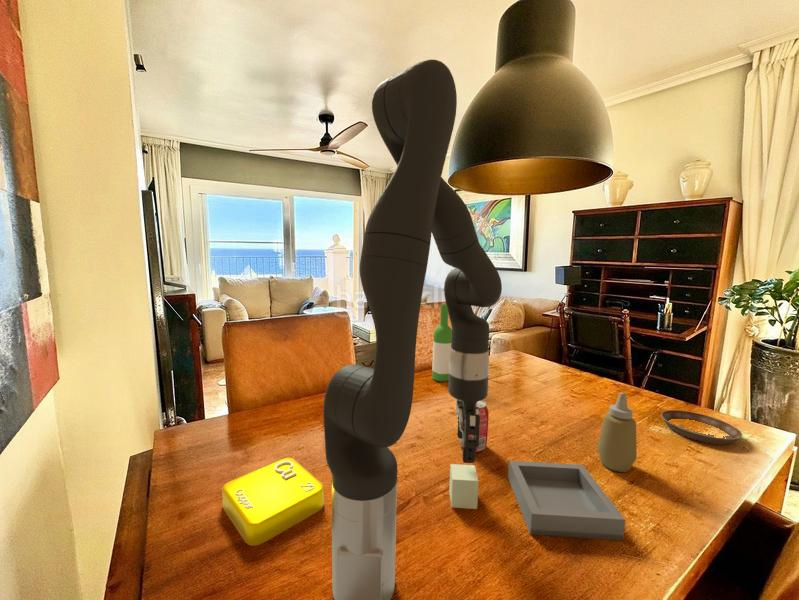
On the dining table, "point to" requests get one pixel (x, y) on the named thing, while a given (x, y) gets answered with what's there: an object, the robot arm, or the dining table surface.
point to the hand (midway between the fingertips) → (465, 449)
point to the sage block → (463, 486)
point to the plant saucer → (678, 414)
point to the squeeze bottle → (618, 437)
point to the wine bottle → (442, 347)
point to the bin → (564, 501)
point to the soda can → (481, 426)
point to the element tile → (271, 500)
